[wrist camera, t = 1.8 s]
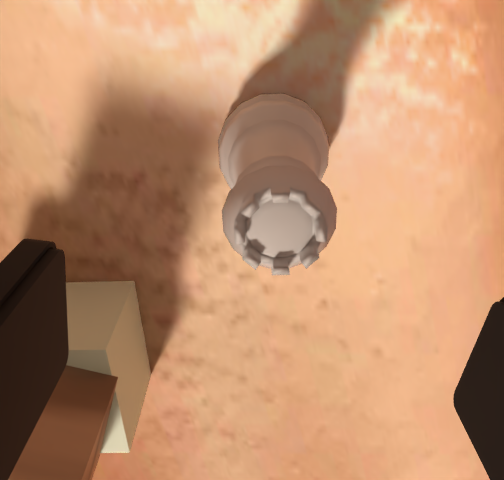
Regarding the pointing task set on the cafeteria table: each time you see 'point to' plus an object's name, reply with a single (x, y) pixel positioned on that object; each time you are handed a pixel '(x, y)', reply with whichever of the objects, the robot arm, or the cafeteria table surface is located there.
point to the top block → (69, 429)
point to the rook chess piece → (276, 183)
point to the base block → (110, 350)
